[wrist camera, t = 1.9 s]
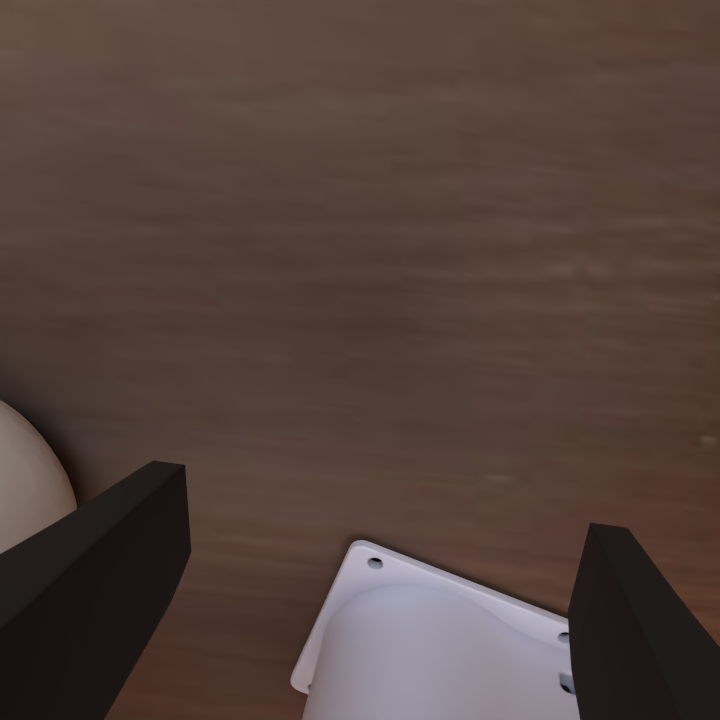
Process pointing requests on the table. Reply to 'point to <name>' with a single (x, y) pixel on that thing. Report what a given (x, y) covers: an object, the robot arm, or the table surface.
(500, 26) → the table surface
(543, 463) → the table surface
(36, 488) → the teacup
